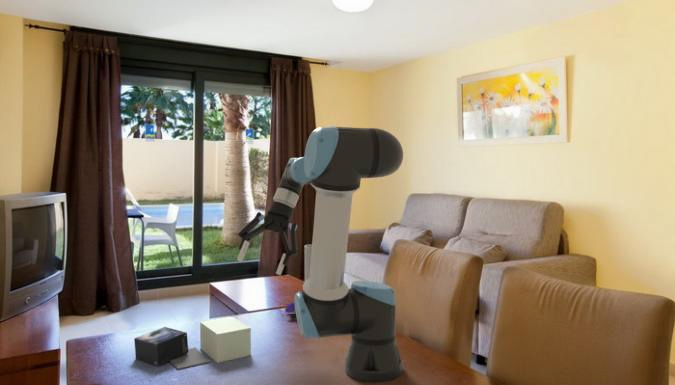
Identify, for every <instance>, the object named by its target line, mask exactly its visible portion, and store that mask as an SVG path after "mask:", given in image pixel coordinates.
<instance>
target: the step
mask: <svg viewBox="0 0 675 385" xmlns="http://www.w3.org/2000/svg"><path fill="white" fill-rule="evenodd" d="M199 328H200V329H199V331H200V335H199V336H200V339H199V340H200V349H201V351H203V353H205V354H207V355H208V356H209V357H210V358H211V359H212V360H213V361H215V362H216V363H217V364H219V363H223V362H228V361H232V360H236V359H241V358H245V357H249V356H251V355H252V346H251V345H252V344H251V343H252V340H251V339H252V337H251V336H252V335H251V332H252V331H251V330H252V329H251V327H250V326H248V325H246V324H245V323H243V322H242V321H240V320H238V319H236V318H235V317H233V316H228V317H221V318H217V319H211V320H205V321H200V324H199Z"/></svg>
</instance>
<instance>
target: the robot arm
mask: <svg viewBox="0 0 675 385" xmlns="http://www.w3.org/2000/svg"><path fill="white" fill-rule="evenodd" d="M403 160H404V149H403V146H402V144H401V142H400V141H399V140H398V138H397V137H396V136H395V135H393V134H392V133H391V132H389V131H387V130H384V129H381V128H377V127H370V128H369V127H349V126H347V127H345V126H333V125H332V126H325V127H321V126H320V127H317V128H315V129H314V130H313V131H311V133H310V135H309V137H308V139H307V141H306V144H305V149H304V156H302V157H291V158H290V159H289V160H288V162H287V164H286V165H285V168H284V172H283V174H282V175H281V176H282V177H281V179H280V181H279V183H278V184H279V185H278V186H277V189H276V191H275V194H274V195H273V201H272V202H271V204H270V206H269V209H268V211H267V214H266V215H265V214H263V213H261V212H260V211H258V212H257V213H256V215H255V216H254V218H253V219H252V220H251V221H249V222H248V224H247V225H245V226H244V227H243V228H242V230H240V232H239V233H238V237H240V238H241V242H240V244H239V247H238V249H239V250H240V251H239V253H238V256H237V258H236V260H237V261H238V262H242V263H243V262H244V258H245V256H246V254H247V251H248V248H249V246H250V244H251V243H250V242H249V241H250V240H252V239H254V238H255V237H257V236H258V235H260V234H262V233H263V232H266V231H269V232H271V233H274V234H277V235H280V238H281V241H282V244H283V247H284V250H285V253H284V252H283V254H282V256H281V259H280V262H279V264H278V266H277V269H276V272H275V274H276V275H278V276H282V273H283V270H284V268H285V266H288V265H289V262H290V260H291V257H294V256H298V255H299V248H298V236H297V231H298V228H299V226H298V225H297V224H296V223H295V222H293V223H290V221H291V219H292V217H293V213H294V211H295V210H294V209H295V208H296V205H297V202H298V200H299V199H300V198H299V197H300V195H301V192H302V190H303V188H304V185H311V187H312V188H314V190H315V192H316V193H315V203H314V204H315V205H314V214H313V215H314V217H313V218H314V219H313V228H312V230H313V231H312V241H311V244H312V252H311V265H310V278H309V279H308V280H306V281H305V280H304V282H303V284H302V291H297V292H296V293H295V294H294V298H293V299H294V301H293V302H295V311H294V313H296V314H295V317H296V321H297V326H298V329H299V332H300V334H301V336H302V337H304V338H305V339H322V338H328V337H329V338H330V337H331V338H332V337H340V336H348V335H351V343H350V345H349V349H348V351H347V352H348V353H347V356H346V358H345V362H344V371H345V373H346V374H347V375H348V376H349V377H350V378H353V379H356V380H359V381H365V382H375V383H376V382H385V381H387V382H388V381H391V380H394V379H396V378H398V377H400V376H401V375H402V373H403V361H402V359H401V355H400V351H399V348H398V346H397V343H396V329H397V328H396V326H397V325H396V324H397V322H396V316H397V314H396V313H397V312H396V311H397V310H396V309H397V302H396V292H395V290H394V288H393V287H391V286H390V285H387V284H385V283H382V282H381V283H380V282H376V281H367V280H356V281H352V282H351V285H350V288H349V286H348V284H347V283H346V282H345V281H344V279H345V271H346V262H347V261H346V260H347V251H348V243H349V242H348V240H349V232H350V223H351V222H350V221H351V212H352V202H353V194H355V193H356V192H357V191H358V190H360V188H361V181H362V180H361V179H375V178H377V179H378V178H385V177H388V176H390V175H392V174H394V173H396V172H397V171H398V170H399V168H400V167H401V166H402V163H403ZM262 221H264V223H262V224H260V225H259V223H260V222H262ZM258 225H259V226H258ZM256 226H258V227H256ZM288 228H289V230H290V238H291V245H290V243H289V240H288V237H287V232H286V229H288Z"/></svg>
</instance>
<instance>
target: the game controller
mask: <svg viewBox="0 0 675 385" xmlns="http://www.w3.org/2000/svg"><path fill="white" fill-rule="evenodd" d="M284 301H286V299H284V300H282V302H281V303H280V306H281V304H282V303H283V302H284ZM287 301H288V302H290V303H288V304H286V307H285V310H284V311H285V313H287V314H288V315H286V316H289V313H292V314H290V316H292V315H296V312H295V302H294V301H293V302H291V301H290V300H288V299H287ZM279 311H280V313H281V315H284V314H283V313H282V312H281V310H279Z"/></svg>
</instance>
